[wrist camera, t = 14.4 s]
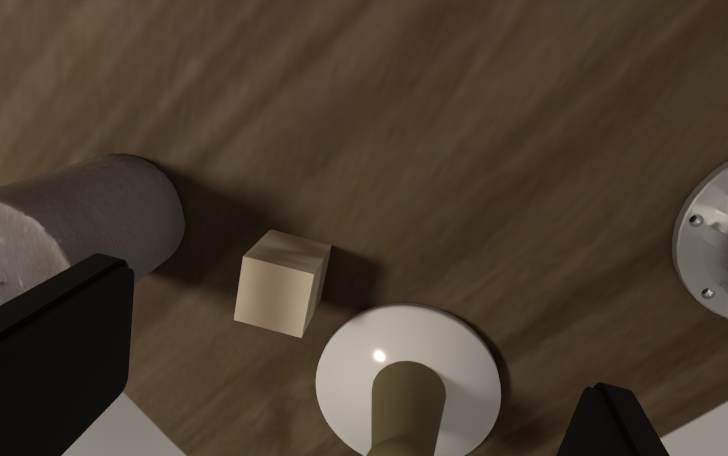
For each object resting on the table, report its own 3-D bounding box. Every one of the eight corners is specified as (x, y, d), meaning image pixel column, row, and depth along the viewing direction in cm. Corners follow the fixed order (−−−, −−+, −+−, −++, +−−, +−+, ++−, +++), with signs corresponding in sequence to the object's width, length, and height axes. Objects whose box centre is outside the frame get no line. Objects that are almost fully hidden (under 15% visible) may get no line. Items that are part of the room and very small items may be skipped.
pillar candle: (57, 222, 43) (-128, 302, 29) (104, 126, 40) (-77, 165, 26) (155, 288, 44) (21, 399, 30) (209, 200, 41) (88, 277, 27)
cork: (362, 409, 43) (336, 519, 33) (384, 350, 41) (365, 447, 31) (431, 434, 43) (427, 553, 32) (457, 375, 41) (462, 482, 30)
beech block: (331, 244, 40) (314, 274, 35) (320, 300, 42) (301, 337, 36) (270, 229, 41) (243, 256, 35) (261, 285, 42) (233, 319, 37)
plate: (523, 329, 40) (525, 337, 39) (471, 477, 45) (471, 488, 44) (336, 282, 41) (333, 288, 40) (305, 432, 46) (302, 441, 45)
